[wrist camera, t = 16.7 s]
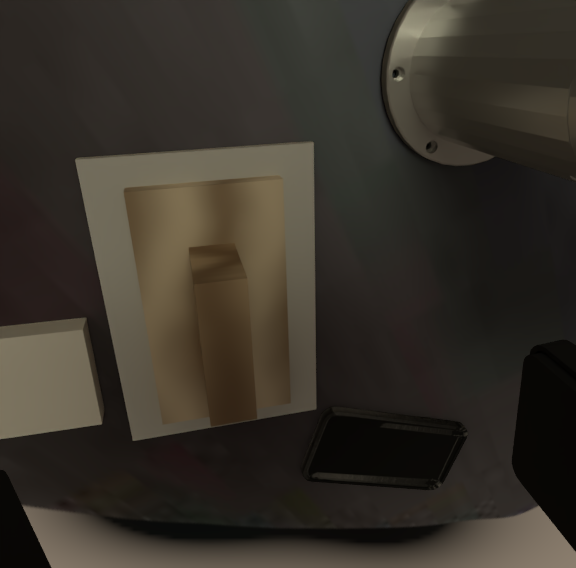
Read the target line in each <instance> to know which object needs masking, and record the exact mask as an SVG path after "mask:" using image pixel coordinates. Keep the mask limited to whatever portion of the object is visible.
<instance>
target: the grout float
mask: <svg viewBox="0 0 576 568" xmlns="http://www.w3.org/2000/svg"><path fill="white" fill-rule="evenodd" d="M124 198H125V204H126V210H127V216H128V222H129V228H130V234H131V240H132V246H133V251H134V257H135V263H136V269H137V275H138V281H139V287H140V293H141V299H142V305H143V311H144V317H145V323H146V328H147V334H148V340H149V346H150V352H151V358H152V364H153V370H154V376H155V382H156V388H157V394H158V400H159V405H160V411H161V417H162V423H163V425H164V424H170V423H176V422H182V421H188V420H194V419H200V418H206V417H210V424H211V427H213V426H219V425H225V424H231V423H237V422H242V421H248V420H254V419H257V409H259V408H265V407H271V406H277V405H283V404H289V403H291V394H290V365H289V336H288V307H287V278H286V248H285V219H284V190H283V178H282V177H281V176H280V175H274V176H262V177H250V178H237V179H225V180H213V181H201V182H188V183H176V184H164V185H151V186H139V187H127V188H125V189H124Z"/></svg>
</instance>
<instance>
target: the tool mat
mask: <svg viewBox="0 0 576 568" xmlns="http://www.w3.org/2000/svg"><path fill="white" fill-rule="evenodd" d="M75 162H76V166H77V171H78V176H79V181H80V186H81V191H82V196H83V200H84V205H85V210H86V215H87V220H88V225H89V230H90V234H91V239H92V244H93V249H94V254H95V259H96V264H97V268H98V273H99V278H100V283H101V288H102V293H103V298H104V303H105V307H106V312H107V317H108V322H109V327H110V332H111V337H112V341H113V346H114V351H115V356H116V361H117V366H118V371H119V375H120V380H121V385H122V390H123V395H124V400H125V405H126V409H127V414H128V419H129V424H130V429H131V434H132V439H133V441H136V440H142V439H148V438H153V437H159V436H165V435H171V434H177V433H182V432H188V431H194V430H200V429H205V428H211V424H210V417H206V418H200V419H194V420H188V421H182V422H176V423H170V424H164V425H163V423H162V417H161V411H160V405H159V400H158V394H157V388H156V382H155V376H154V370H153V364H152V358H151V352H150V346H149V340H148V334H147V328H146V323H145V317H144V311H143V305H142V299H141V293H140V287H139V281H138V275H137V269H136V263H135V257H134V251H133V246H132V240H131V234H130V228H129V222H128V216H127V210H126V204H125V198H124V189H125V188H127V187H139V186H151V185H164V184H176V183H188V182H201V181H213V180H225V179H237V178H250V177H262V176H274V175H280V176H281V177H282V178H283V190H284V219H285V248H286V278H287V307H288V336H289V365H290V394H291V403H289V404H283V405H277V406H271V407H265V408H259V409H257V419H263V418H269V417H275V416H281V415H286V414H292V413H298V412H304V411H309V410H315V409H316V323H315V225H314V143H313V142H312V141H307V142H293V143H279V144H265V145H251V146H237V147H223V148H209V149H195V150H181V151H167V152H153V153H139V154H125V155H111V156H97V157H83V158H76V159H75ZM257 419H254V420H257ZM248 421H252V420H248ZM242 422H246V421H242ZM237 423H240V422H237ZM231 424H234V423H231ZM225 425H229V424H225ZM219 426H223V425H219ZM213 427H217V426H213Z"/></svg>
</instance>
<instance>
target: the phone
mask: <svg viewBox="0 0 576 568" xmlns="http://www.w3.org/2000/svg"><path fill="white" fill-rule="evenodd" d="M319 423H320V424H319ZM467 436H468V432H467V429H466V428H465V427H464V426H463V425H462V424H461V423H460V422H455V421H447V420H439V419H431V418H425V417H416V416H408V415H400V414H392V413H384V412H376V411H369V410H361V409H353V408H345V407H330V408H328V409H326V410H325V411H324V412H323V413H322V415H321V417H320V419H319V422H318V424H317V427H316V429H315V432H314V434H313V437H312V439H311V442H310V444H309V447H308V449H307V452H306V455H305V457H304V460H303V462H302V465H301V471H302V473H303V476H304V478H305V479H306V480H308V481H312V482H326V483H339V484H353V485H366V486H380V487H393V488H407V489H421V490H434V489H436V488H438V487H440V486H441V485H442V484H443V482H444V480H445V478H446V476H447V475H448V473H449V471H450V469H451V467H452V465H453V463H454V461H455V459H456V457H457V455H458V454H459V452H460V450H461V448H462V446H463V444H464V442H465V440H466V438H467ZM314 437H315V439H314ZM313 440H314V441H313ZM312 442H313V444H312Z"/></svg>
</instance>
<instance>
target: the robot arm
mask: <svg viewBox="0 0 576 568" xmlns="http://www.w3.org/2000/svg"><path fill="white" fill-rule="evenodd" d="M394 69H395V71H396V76H395V77H394V78H393V77H392V73H393V70H394ZM381 81H382V93H383V100H384V104H385V108H386V111H387V115H388V117H389V119H390V121H391V124H392V126H393V128H394V130H395V131H396V133H397V134H398V135H399V137H400V138H401V139H402V140H403V142H404V143H405V144H406V145H407V146H408V147H410V148H411V149H412V150H413V151H414V152H416V153H417V154H419V155H421V156H423V157H425V158H427V159H429V160H431V161H434V162H437V163H440V164H443V165H451V166H467V165H474V164H478V163H481V162H485V161H488V160H490V159H492V158H494V157H498V158H502V159H505V160H508V161H511V162H514V163H517V164H520V165H523V166H526V167H530V168H533V169H536V170H539V171H542V172H545V173H548V174H551V175H554V176H557V177H561V178H564V179H567V180H570V181H573V182H576V0H409V1H408V2H407V3H406V5H405V7H404V8H403V10H402V11H401V13H400V15H399V16H398V18H397V19H396V21H395V24H394V26H393V29H392V31H391V33H390V36H389V38H388V41H387V45H386V49H385V53H384V57H383V65H382V77H381ZM427 143H429V145H428V147H427V148H426V145H427ZM512 465H513V469H514V472H515V474H516V476H517V478H518V479H519V481H520V482H521V484H522V485H523V486H524V487H525V489H526V490H527V491H528V492H529V494H530V495H531V496H532V497H533V499H534V500H535V501H536V502H537V504H538V505H539V506H540V507H541V509H542V510H543V511H544V512H545V513H546V515H547V516H548V517H549V519H550V520H551V521H552V522H553V524H554V525H555V526H556V527H557V529H558V530H559V531H560V532H561V534H562V535H563V536H564V537H565V539H566V540H567V541H568V543H569V544H570V545H571V546H572V548H573V549H574V550H575V551H576V345H574V344H573V343H571V342H569V341H568V340H559V341H555V342H550V343H545V344H541V345H537V346H534V347H533V348H532V349H531V352H530V355H528V356H526V357H525V359H524V363H523V371H522V380H521V388H520V396H519V405H518V413H517V421H516V430H515V438H514V446H513V455H512ZM0 568H51V566H50V564H49V562H48V560H47V558H46V556H45V553H44V551H43V549H42V547H41V545H40V543H39V541H38V539H37V536H36V534H35V532H34V530H33V528H32V526H31V524H30V522H29V520H28V517H27V515H26V513H25V511H24V509H23V507H22V505H21V503H20V500H19V498H18V496H17V494H16V492H15V490H14V488H13V486H12V483H11V481H10V479H9V477H8V475H7V474H6V472H5V471H3V470H0Z"/></svg>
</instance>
